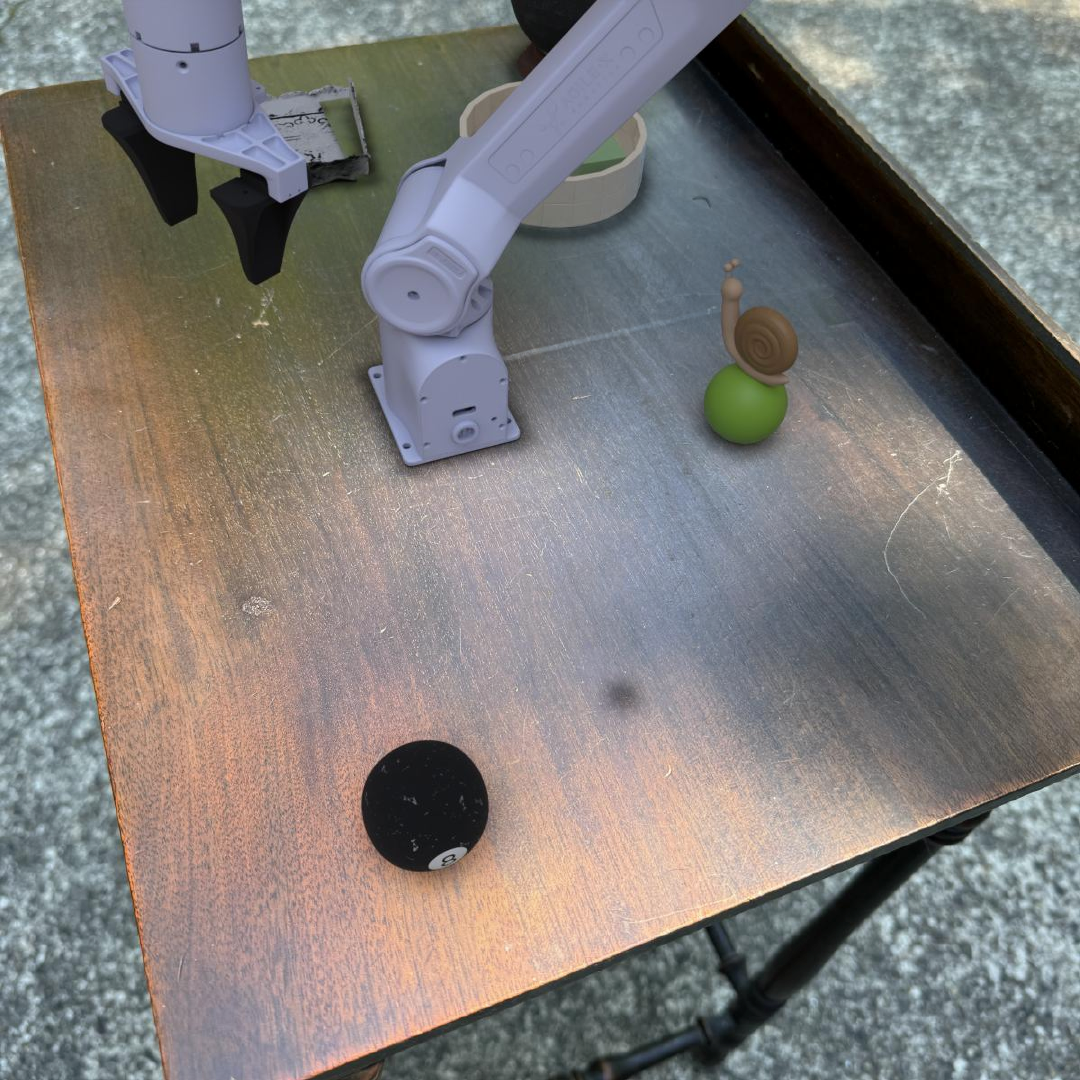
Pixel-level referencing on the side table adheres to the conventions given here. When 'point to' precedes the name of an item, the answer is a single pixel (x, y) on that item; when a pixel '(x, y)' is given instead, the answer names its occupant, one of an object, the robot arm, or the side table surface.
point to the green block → (602, 158)
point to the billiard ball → (424, 805)
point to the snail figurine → (750, 369)
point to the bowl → (579, 194)
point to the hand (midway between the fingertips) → (222, 246)
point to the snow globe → (545, 26)
